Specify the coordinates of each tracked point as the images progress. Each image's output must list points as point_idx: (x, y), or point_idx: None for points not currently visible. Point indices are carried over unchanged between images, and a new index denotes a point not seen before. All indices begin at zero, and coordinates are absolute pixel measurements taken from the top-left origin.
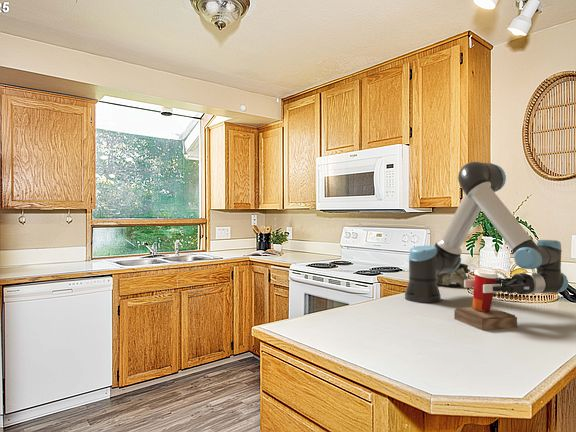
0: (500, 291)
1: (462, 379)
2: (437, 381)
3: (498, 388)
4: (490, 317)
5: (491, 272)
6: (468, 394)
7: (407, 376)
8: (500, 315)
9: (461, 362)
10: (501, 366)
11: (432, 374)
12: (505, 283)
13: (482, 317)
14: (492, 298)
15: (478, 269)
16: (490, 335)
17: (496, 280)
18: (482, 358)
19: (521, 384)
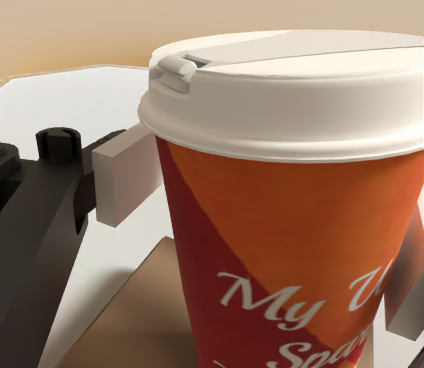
0: (97, 214)
1: (90, 84)
2: (115, 76)
3: (42, 82)
4: (139, 268)
5: (223, 48)
6: (73, 71)
7: (148, 75)
8: (102, 342)
9: (111, 107)
10: (45, 116)
11: (128, 82)
12: (36, 138)
13: (166, 239)
14: (194, 337)
15: (381, 34)
16: (111, 239)
17: (161, 165)
18: (84, 125)
19: (11, 93)
